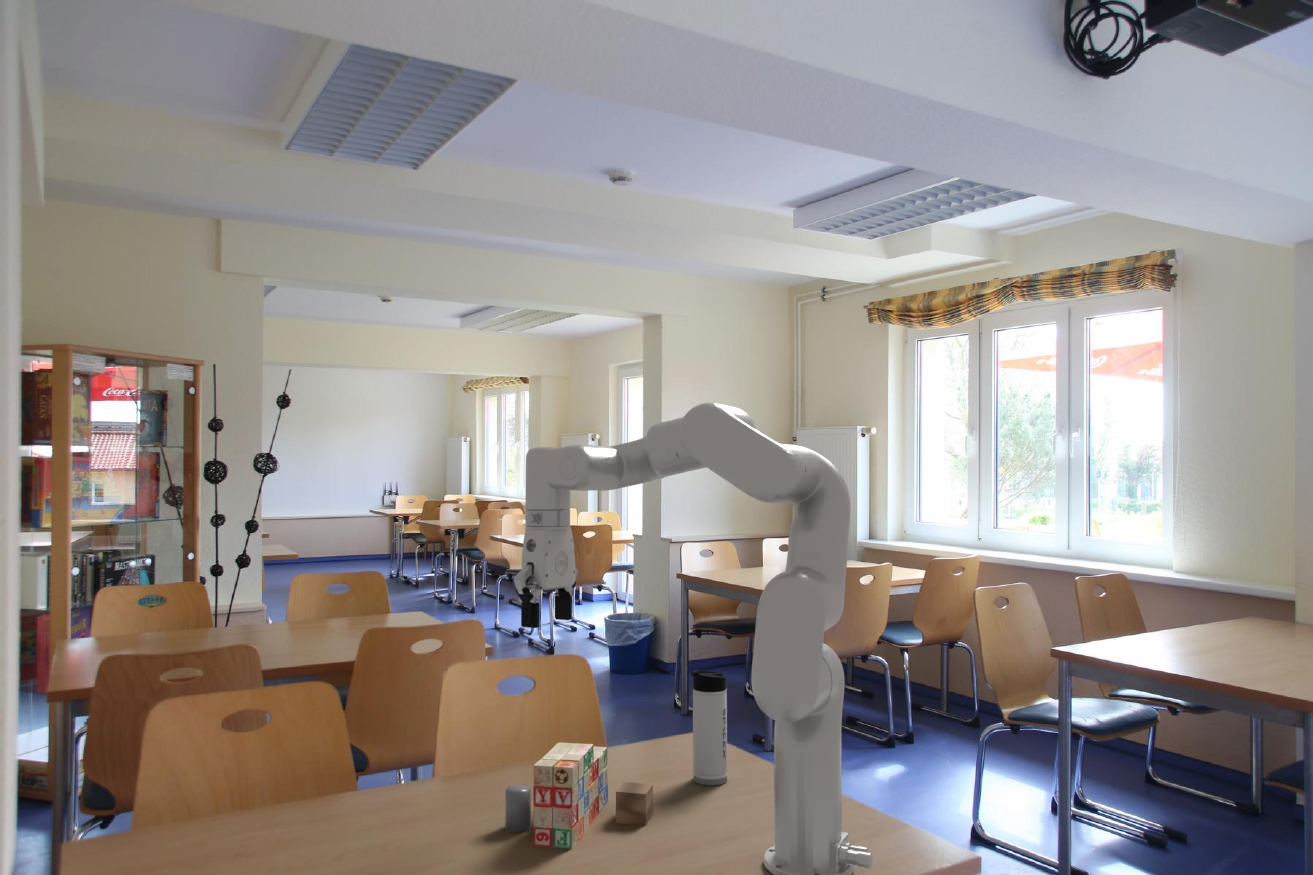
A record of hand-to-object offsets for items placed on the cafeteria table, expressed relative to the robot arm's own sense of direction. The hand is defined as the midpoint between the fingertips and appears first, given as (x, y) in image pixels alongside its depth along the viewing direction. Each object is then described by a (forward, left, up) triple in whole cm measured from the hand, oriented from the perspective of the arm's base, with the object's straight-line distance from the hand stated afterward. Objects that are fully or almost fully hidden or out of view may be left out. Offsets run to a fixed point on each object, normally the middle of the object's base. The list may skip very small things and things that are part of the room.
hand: (547, 623), depth 149 cm
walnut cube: (-14, -5, -31) cm, 35 cm away
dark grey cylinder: (+1, +7, -31) cm, 32 cm away
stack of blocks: (-6, +1, -32) cm, 32 cm away
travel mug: (-17, -28, -31) cm, 45 cm away
